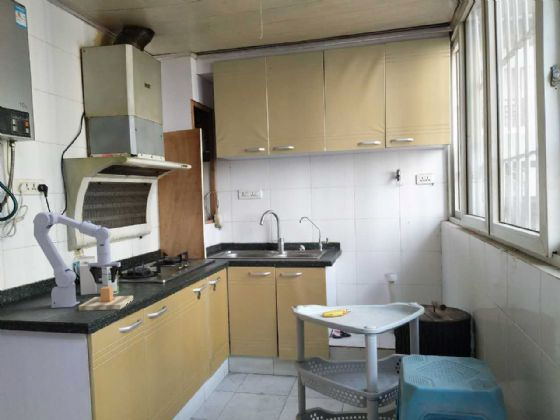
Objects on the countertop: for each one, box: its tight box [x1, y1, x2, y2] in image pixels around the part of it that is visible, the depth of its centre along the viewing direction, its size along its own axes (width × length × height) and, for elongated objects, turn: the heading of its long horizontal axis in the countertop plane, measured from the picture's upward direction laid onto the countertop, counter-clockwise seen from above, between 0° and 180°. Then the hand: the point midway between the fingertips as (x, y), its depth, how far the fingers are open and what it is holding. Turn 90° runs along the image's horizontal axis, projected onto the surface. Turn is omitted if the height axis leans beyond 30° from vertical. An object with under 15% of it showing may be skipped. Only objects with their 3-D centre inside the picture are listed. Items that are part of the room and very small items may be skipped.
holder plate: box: [78, 295, 134, 312], centre depth 187 cm, size 18×16×2 cm
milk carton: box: [79, 255, 97, 296], centre depth 212 cm, size 7×7×19 cm
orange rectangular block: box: [100, 286, 114, 302], centre depth 187 cm, size 4×4×8 cm
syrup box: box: [101, 267, 120, 296], centre depth 209 cm, size 6×6×14 cm
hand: (105, 282), depth 192 cm, fingers open, 7 cm apart
